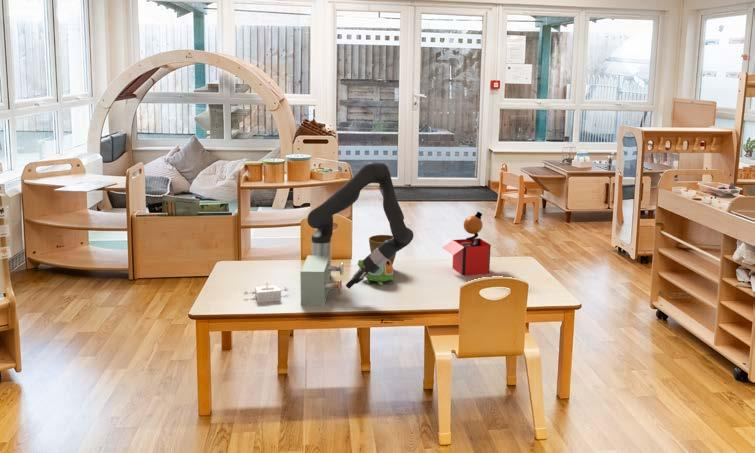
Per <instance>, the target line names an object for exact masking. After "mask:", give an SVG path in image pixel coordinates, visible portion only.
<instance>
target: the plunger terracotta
mask: <svg viewBox="0 0 755 453" xmlns="http://www.w3.org/2000/svg"><path fill="white" fill-rule="evenodd" d="M342 284H343V283H342V279H338V280H337V283H336V282H335V283H331V282H330V283H325V289H329V290H337V294H341V293H342Z"/></svg>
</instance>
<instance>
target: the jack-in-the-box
mask: <svg viewBox="0 0 755 453" xmlns="http://www.w3.org/2000/svg"><path fill="white" fill-rule="evenodd" d="M482 216H483V213H481V212H480V211H477V212H476V214H474V215H470V216H468V217H467V218H465V220H463V228H464V231H465V232H466V233H468V234H470V235H472V236H469V237H466V238H464V239H452V240H451V241H450V242H448V243H447V244H445V245H444V246H442V249H443V250H445V251H446V252H448V253H449V254H451V255H452V270H454V271H456V272H457V273H458V274H459V275H460V276H465V277H466V276H479V274H481V275H489V274H490V266H491V265H490V262H491V247H493V248H495V249H496V247H495V246H493V245H491V244H490V243H488V242H487V241H485V240H483V239H482V238H479V233H480V232H481V230H483V225H484V224H483V221H482V220H481V219H482Z"/></svg>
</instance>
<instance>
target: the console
mask: <svg viewBox="0 0 755 453" xmlns="http://www.w3.org/2000/svg"><path fill="white" fill-rule="evenodd" d="M328 266H330V256H321V255H312V254H310V255H309V254H308V255H307V256H306V258H305V261H304V263H303V265H302V268H301V270H300V305H301V306H325V303H326V301H327V298H328V294H329V291H330V289H325V283H331V281H330V280H331V276H330V271H328Z"/></svg>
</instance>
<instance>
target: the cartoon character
mask: <svg viewBox="0 0 755 453" xmlns="http://www.w3.org/2000/svg"><path fill="white" fill-rule="evenodd" d="M288 290H289V288H288V287H284V289H281V288H280V287H278V286H276V285H269V283H268V282H266V283H265V285H264V286H261V285H257V286H255V287H254V290H251V292H247V291H244V292H243V296H245V295H248V294H251V295H255V297H256V302H257V303H267V302H278V301H279V302H280V301H281V297H282V292H283V291H284V292H288Z"/></svg>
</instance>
